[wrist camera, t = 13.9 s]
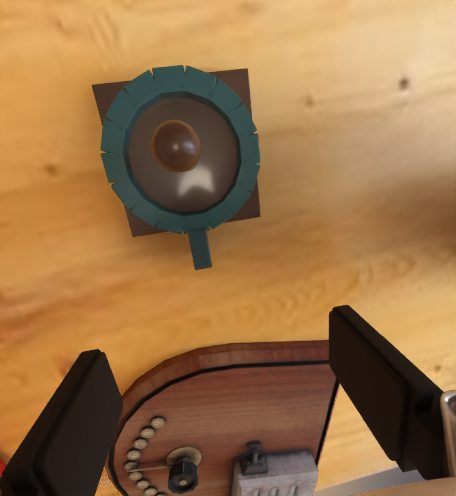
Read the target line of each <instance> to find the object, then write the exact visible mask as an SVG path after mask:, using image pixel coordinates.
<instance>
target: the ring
mask: <svg viewBox="0 0 456 496" xmlns="http://www.w3.org/2000/svg"><path fill="white" fill-rule="evenodd" d="M152 70H153V75H154V77H153V75H152V73H151V72H150V70H147V71H146V72H144V73H143V74H141V75H140V76H138V77H137V78H135V79H134V80H132V81H130V82H129V83H127V84H126V85H124V89H125V90H126V92H127V93H126V92H124V91H123V90H122V89H120V90H119V92H118V94H117V96H116V97H115V99H114V101H113V102H112V104H111V106H110V107H109V109H108V111H107V112H106V114H105V116H106V117H107V118H108V119H110V120H111V121H109V120H106V119H104V122H103V131H102V141H101V150H102V151H105V152H107V153H101V157H102V160H103V164H104V167H105V171H106V174H107V178H108V182H109V183H115V182H116V183H115V184H113V185H112V186H111V187H112V189H113V190H114V191H115V193H116V194H117V195H118V197H119V198H120V199H121V201H122V202H123V204H124V205H125V206H126V208H127V209H131V208H132V207H133V209H132V210H131V213H133V214H134V215H136V216H137V217H139V218H140V219H142V220H143V221H145V222H146V223H148V224H149V225H151V226H152V227H154V226H155V225H156V224H157V227H156V228H157V229H161V230H165V231H170V232H175V233H179V234H182V232H183V228H184V233H185V234H188V235H189V241H190V246H191V251H192V256H193V262H194V267H195V270H198V269H204V268H210V267H212V262H211V256H210V250H209V244H208V238H207V232H206V231H208V230H210V229H209V225H210V227H211V228H212V229H213V228H215V227H217V226H218V225H220V224H222V223H223V222H225V221H227V220H228V219H230V218H232V217H233V214H232V213H231V212H233V213H234V214H237V212H238V211H239V210H240V208H241V207H242V206H243V204H244V203H245V202H246V200H247V199H248V198H249V196H250V195H251V193H249V192H248V191H253V189H254V185H255V182H256V178H257V175H258V171H259V168H260V165H257V164H254V163H260V152H259V139H258V134H252V133H254V132H256V131H257V129H256V127H255V125H254V123H253V120H252V118H251V116H250V114H249V112H248V110H247V108H246V105H245V104H244V103H243V104H241V105H239V104H240V103H241V101H242V99H241V98H240V97H239V96H238V95H236V94H235V93H234V92H233V91H232V90H231V89H230V88H229V87H228V86H227V85H226V84H225V83H224V82H223V81H222V80H221V79H218V81H217V82H216V84H215V81H216V76H214V75H212V74H209V73H206V72H203V71H201V70H198V69H195V68H192V67H190V66H186V71H185V72H184V66H183V65H179V66H169V67H159V68H153V69H152ZM182 97H187V98H190V99H193V100H196V101H199V102H201V103H204V104H207V105H209V106H210V107H211V108H212V109H213V110H214V111H216V112H217V113H218V114H219V115H220V116H221V117H222V118H223V119H225V121H226V123H227V124H228V126H229V128H230V130H231V132H232V134H233V136H234V138H235V140H236V148H237V157H238V165H237V169H236V173H235V177H234V180H233V184H232V185H231V187H230V188H229V189H228V191H227V192H226V193H225V195H224V196H223V197H222V199H221V200H220V201H218V202H216V203H215V204H213V205H211V206H210V207H208V208H206V209H205V210H200V211H193V212H187V213H183V212H179V211H175V210H170V209H166V208H163V207H162V206H161V205H159V204H158V203H156V202H155V201H153V200H152V199H150V198H149V197H148V196H146V194H145V193H144V191H143V190H142V189H141V187H140V186H139V184H138V183H137V181H136V180H135V179H134V176H133V172H132V168H131V164H130V160H129V156H128V151H129V144H130V137H131V131H132V130H133V128H134V127H135V125H136V123H137V122H138V120H139V118H140V117H141V115H142V114H143V112H144V111H146V110H147V109H149V108H150V107H152V106H153V105H155V104H157V103H158V102H160V101H161V100H164V99H173V98H182ZM247 190H248V191H247Z"/></svg>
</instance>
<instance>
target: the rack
mask: <svg viewBox="0 0 456 496" xmlns="http://www.w3.org/2000/svg"><path fill="white" fill-rule="evenodd" d="M209 74H212V75H214V76H216V81H215V84H216V82H217V81H218V79H221V80H222V81H223V82H224V83H225V84H226V85H227V86H228V87H229V88H230V89H231V90H232V91H233V92H234V93H235V94H236V95H238V96H239V97H240V98H241V99H242V101H241V103H240V104H239V105H241V104H243V103H244V104H245V105H246V108H247V110H248V112H249V114H250V116H251V118H252V112H251V100H250V89H249V77H248V69H247V68H246V69H237V70H227V71H218V72H209ZM129 82H130V81H123V82H114V83H104V84H95V85H92V88H93V92H94V96H95V99H96V103H97V107H98V110H99V114H100V118H101V121H102V125H103V122H104V119H106V120H109V121H111V120H110V119H108V118H107V117H106V116H105V114H106V112H107V111H108V109H109V107H110V106H111V104H112V102H113V101H114V99H115V97H116V96H117V94H118V92H119V90H120V89H122V90H123V91H124V92H126V90H125V89H124V85H126V84H127V83H129ZM126 93H127V92H126ZM252 134H253V133H252ZM128 156H129V160H130V164H131V168H132V172H133V176H134V179H135V180H136V181H137V183H138V184H139V186H140V187H141V189H142V190H143V191H144V193H145V194H146V196H148V197H149V198H150V199H152V200H153V201H155V202H156V203H158V204H159V205H161V206H162V207H163V208H166V209H170V210H175V211H179V212H183V213H187V212H193V211H200V210H205V209H206V208H208V207H210V206H211V205H213V204H215V203H216V202H218V201H220V200H221V199H222V197H223V196H224V195H225V193H226V192H227V191H228V189H229V188H230V187H231V185H232V184H233V180H234V177H235V173H236V169H237V165H238V157H237V148H236V140H235V138H234V136H233V134H232V132H231V130H230V128H229V126H228V124H227V123H226V121H225V119H223V118H222V117H221V116H220V115H219V114H218V113H217V112H216V111H214V110H213V109H212V108H211V107H210V106H209V105H207V104H204V103H201V102H199V101H196V100H193V99H190V98H187V97H182V98H173V99H164V100H161V101H160V102H158V103H157V104H155V105H153V106H152V107H150V108H149V109H147V110H146V111H144V112H143V114H142V115H141V117H140V118H139V120H138V122H137V123H136V125H135V127H134V128H133V130H132V131H131V137H130V144H129V151H128ZM254 164H256V163H254ZM247 191H248V190H247ZM248 192H249V193H251V195H250V196H249V198H248V199H247V200H246V202H245V203H244V204H243V206H242V207H241V208H240V210H239V211H238V212H237V214H234V213H233V212H231V213H232V214H233V217H232V218H230V219H228V220H227V221H225V222H232V221H238V220H244V219H251V218H257V217H261V215H260V204H259V192H258V181H257V178H256V182H255V185H254V189H253V191H248ZM124 206H125V205H124ZM125 209H126V213H127V217H128V220H129V224H130V228H131V232H132V235H133V237H137V236H143V235H149V234H156V233H162V232H168V231H165V230H161V229H157V228H156V227H157V224H156V225H155V226H154V227H152V226H151V225H149V224H148V223H146V222H145V221H143V220H142V219H140V218H139V217H137V216H136V215H134V214H133V213H131V210H132V209H133V207H132V208H131V209H127V208H126V206H125ZM225 222H223V223H225ZM183 229H184V228H183Z"/></svg>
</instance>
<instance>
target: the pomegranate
mask: <svg viewBox="0 0 456 496" xmlns="http://www.w3.org/2000/svg"><path fill="white" fill-rule="evenodd" d="M4 469H5V464H4V463H3V462H2V461H1V460H0V478H1V476H2V474H1V473H2V472H3V470H4Z"/></svg>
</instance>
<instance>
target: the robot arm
mask: <svg viewBox="0 0 456 496" xmlns="http://www.w3.org/2000/svg"><path fill="white" fill-rule="evenodd" d="M329 365H330V368H331V370H332V372H333V373H334V375H335V376H336V378H337V379H338V381H339V383H340V384H341V386H342V387H343V389H344V390H345V392H346V393H347V395H348V396H349V398H350V400H351V401H352V403H353V404H354V406H355V407H356V409H357V410H358V412H359V413H360V415H361V417H362V418H363V420H364V421H365V423H366V424H367V426H368V427H369V429H370V430H371V432H372V434H373V435H374V437H375V438H376V440H377V441H378V443H379V444H380V446H381V447H382V449H383V451H384V452H385V454H386V455H387V456H388V458H389V459H390V460H392V461H396V463H397V464H398V466H399V467H400V469H401V470H402V472H406V471H411V470H416V469H417V470H418V472H419V473H420V474H421V476H422V477H423V478H424V479H425V480H426V481H421V482H416V483H410V484H405V485H400V486H395V487H390V488H385V489H379V490H375V491H370V492H365V493H360V494H356V495H351V496H456V390H449V391H446V392H443V391H442V390H441V389H440V388H439V387H438V386H437V385H436V384H434V383H433V382H432V381H431V380H430V379H429V378H428V377H427V376H426V375H425V374H424V373H422V372H421V371H420V370H419V369H418V368H417V367H416V366H415V365H414V364H413V363H412V362H411V361H409V360H408V359H407V358H406V357H405V356H404V355H403V354H402V353H401V352H400V351H399V350H397V349H396V348H395V347H394V346H393V345H392V344H391V343H390V342H389V341H388V340H387V339H385V338H384V337H383V336H382V335H380V334H379V333H378V332H377V331H376V330H375V329H374V328H373V327H372V326H371V325H370V324H368V323H367V322H366V321H365V320H364V319H363V318H362V317H361V316H360V315H359V314H358V313H357V312H355V311H354V310H353V309H352V308H351V307H350V306H349V305H343V306H338V307H334V308H333V309H332V311H330V313H329ZM122 410H123V400H122V397H121V395H120V392H119V389H118V387H117V384H116V381H115V379H114V376H113V373H112V370H111V368H110V365H109V362H108V360H107V357H106V354H105V353H104V352H101V351H100V350H99V349H95V350H90V351H84V352H82V353H81V354H80V355H79V357H78V358H77V360H76V361H75V363H74V364H73V366H72V367H71V369H70V370H69V372H68V373H67V375H66V376H65V378H64V379H63V381H62V382H61V384H60V385H59V387H58V388H57V390H56V391H55V393H54V394H53V396H52V397H51V399H50V401H49V402H48V404H47V405H46V407H45V408H44V410H43V411H42V413H41V414H40V416H39V417H38V419H37V420H36V422H35V423H34V425H33V426H32V428H31V429H30V431H29V432H28V434H27V435H26V437H25V438H24V440H23V441H22V443H21V444H20V446H19V448H18V449H17V451H16V452H15V454H14V455H13V457H12V458H11V460H10V461H9V463H8V464H7V466H6V467H5V469H4V470H3V472H2V473H1V474H2V476H1V478H0V496H95V493H96V490H97V487H98V484H99V481H100V477H101V474H102V471H103V468H104V465H105V462H106V459H107V456H108V453H109V450H110V447H111V444H112V441H113V438H114V435H115V432H116V429H117V426H118V423H119V420H120V417H121V414H122Z"/></svg>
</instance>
